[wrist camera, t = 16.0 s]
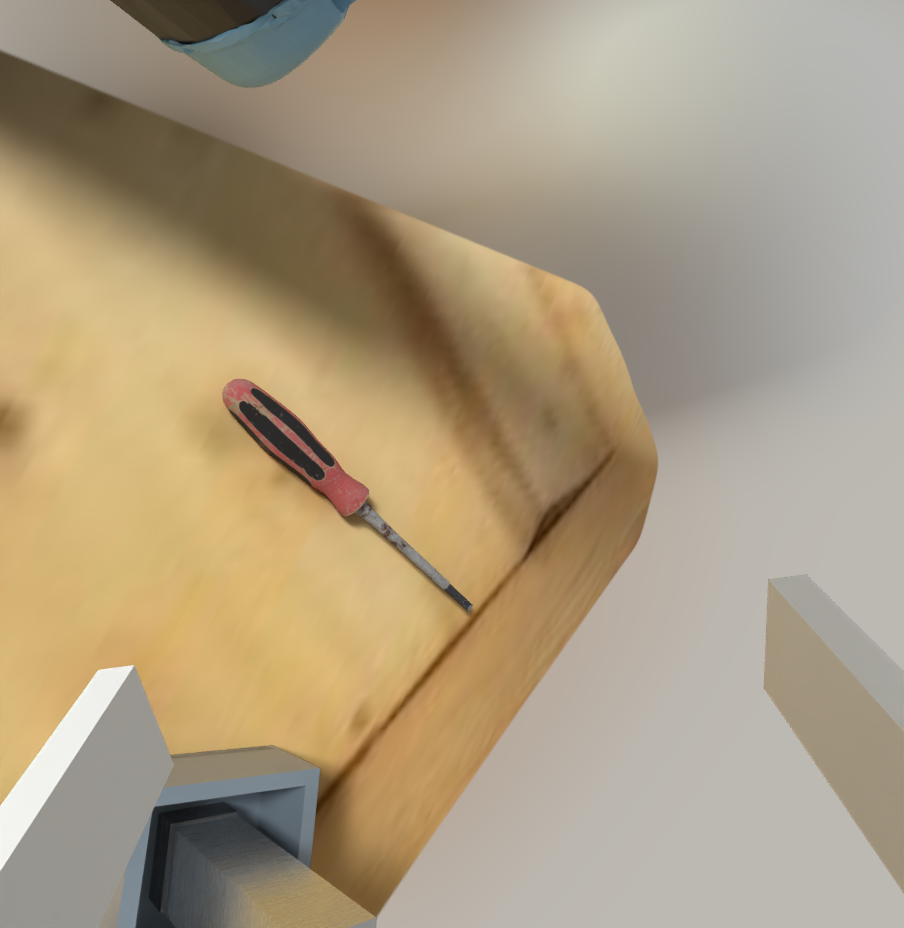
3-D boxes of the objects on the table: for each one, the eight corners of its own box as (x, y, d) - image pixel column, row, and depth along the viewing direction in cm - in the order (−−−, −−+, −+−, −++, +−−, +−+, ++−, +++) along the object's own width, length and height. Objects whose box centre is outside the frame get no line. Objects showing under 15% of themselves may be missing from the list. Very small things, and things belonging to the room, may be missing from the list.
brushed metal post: (149, 814, 35) (283, 946, 23) (223, 801, 38) (378, 913, 26) (138, 900, 35) (271, 1082, 23) (215, 881, 37) (371, 1035, 25)
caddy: (105, 761, 35) (137, 790, 31) (272, 745, 41) (320, 768, 37) (72, 964, 33) (101, 1027, 29) (253, 916, 39) (300, 962, 35)
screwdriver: (466, 591, 53) (491, 593, 51) (449, 623, 52) (474, 626, 49) (232, 372, 42) (251, 362, 40) (203, 404, 41) (221, 395, 39)
